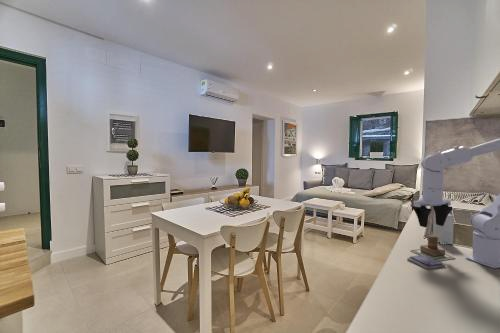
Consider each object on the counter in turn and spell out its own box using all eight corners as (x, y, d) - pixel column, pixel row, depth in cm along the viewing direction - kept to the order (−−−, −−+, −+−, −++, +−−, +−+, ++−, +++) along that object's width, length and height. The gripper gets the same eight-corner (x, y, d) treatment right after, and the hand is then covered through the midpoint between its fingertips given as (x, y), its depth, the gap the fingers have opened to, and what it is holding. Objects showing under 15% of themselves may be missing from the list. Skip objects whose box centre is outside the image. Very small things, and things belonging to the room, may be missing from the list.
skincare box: (453, 245, 92) (454, 215, 91) (441, 244, 92) (441, 215, 92) (444, 240, 98) (444, 212, 97) (432, 239, 98) (433, 211, 98)
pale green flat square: (429, 248, 88) (429, 247, 88) (455, 258, 79) (455, 257, 79) (410, 251, 86) (410, 249, 86) (434, 261, 77) (434, 259, 77)
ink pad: (423, 258, 80) (423, 254, 80) (445, 267, 73) (445, 263, 73) (407, 260, 78) (407, 256, 78) (427, 269, 71) (427, 265, 71)
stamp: (431, 250, 85) (431, 233, 85) (445, 256, 80) (445, 238, 80) (420, 251, 84) (420, 234, 84) (433, 257, 79) (433, 239, 79)
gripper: (437, 186, 87) (436, 221, 88) (406, 187, 84) (405, 224, 85) (457, 188, 81) (456, 227, 81) (424, 189, 77) (423, 229, 78)
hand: (431, 225), depth 82 cm, fingers open, 7 cm apart
